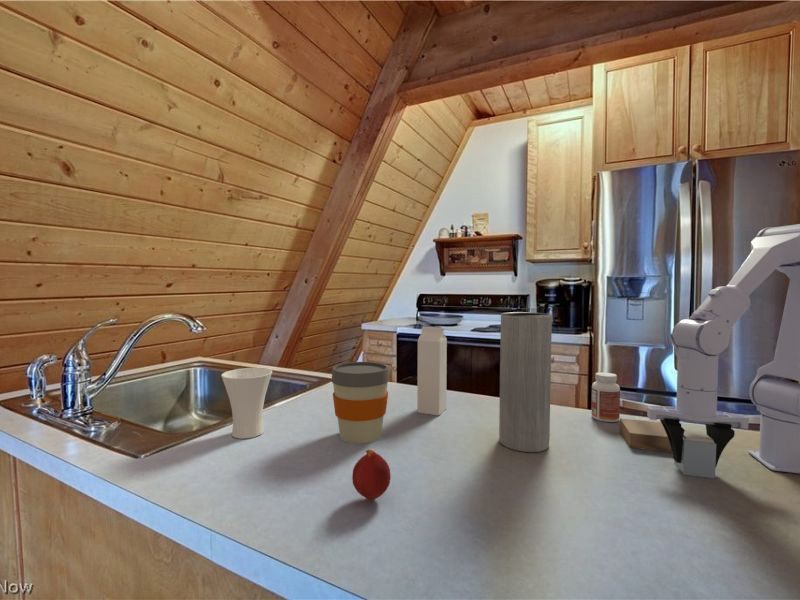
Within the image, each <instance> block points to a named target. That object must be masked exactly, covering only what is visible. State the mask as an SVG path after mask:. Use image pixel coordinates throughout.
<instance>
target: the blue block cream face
mask: <svg viewBox="0 0 800 600" xmlns="http://www.w3.org/2000/svg"><path fill="white" fill-rule="evenodd" d="M684 430H685V431H684V435H683V440H682V460H681V463H677V462H676V461H675V460H674V459H673V460H674V461H673V463H674V465H675V466H676V468H677V469H678V470H679V471H680V473H682V474H683V475H686V476H693V477H701V478H706V479H707V478H709V479H716V468H717V467H716V443H714V440H713V439H711V438H710V437H709V436H708V435H707V433H706V432H705V431H699V430H698V431H697V430H687V429H684Z"/></svg>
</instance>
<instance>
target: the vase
mask: <svg viewBox="0 0 800 600" xmlns="http://www.w3.org/2000/svg"><path fill="white" fill-rule="evenodd" d="M500 314H501V315H500V344H499V345H500V349H499V350H500V357H499V362H500V363H499V413H498V414H499V415H498V416H499V417H498V418H499V427H498V435H499V437H498V438H499V439H498V440H499V442H500V444H502V445H503V446H504V447H506V448H508V449H510V450H514V451H517V452H523V453H540V452H543V451H546V450H547V449H549V448H550V436H551V435H550V431H551V429H550V427H551V385H552V383H551V382H552V381H551V380H552V378H551V377H552V375H551V373H552V338H553V337H552V334H553V332H552V330H553V329H552V326H553V320H552V319H553V317H552V314H550V313H542V312H527V311H525V312H523V311H516V312H515V311H513V312H509V311H508V312H503V313H500Z"/></svg>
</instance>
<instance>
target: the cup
mask: <svg viewBox="0 0 800 600" xmlns="http://www.w3.org/2000/svg"><path fill="white" fill-rule="evenodd" d="M272 374H273V370H272V369H270V368H265V367H246V368H245V367H243V368H235V369H232V370H227V371H225V372H223V373H221V376H220V377H221V378H222V382H223V384H224V386H225V390H226V393H227V396H228V399H229V402H230V409H231V413H232V414H231V415H232V431H231V436H232V437H233V438H234V439H244V440H245V439H251V438H255V437H258V436H261V435H262V434H263V433H264V431H265V430H264V421H263V417H264V416H263V413H264V405H265V404H264V403H265V399H266V393H267V391H268V386H269V385H270V380H271V377H272Z"/></svg>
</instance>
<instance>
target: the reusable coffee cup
mask: <svg viewBox="0 0 800 600" xmlns="http://www.w3.org/2000/svg"><path fill="white" fill-rule="evenodd" d="M331 372H332V373H331V384H332V385H333V393H332V398H333V399H332V400H333V407H334V408H333V409H334V414H335V417H337V422H338V423H337V424H338V430H339V431H338V432H339V436H340V439H341V440H342V441H344V442H346V443H350V444H368V443H373V442H375V441H377V440H379V439H380V438H381V437H382V431H383V424H384V416H385V415H386V414H387V406H388V399H389V398H388V397H389V391H388V383H389V382H390V374H389V366H388V365H387V364H385V363H381V362H374V361H352V362H351V361H350V362H344V363H343V362H342V363H339V364H335V365H334V366H332V371H331Z"/></svg>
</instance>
